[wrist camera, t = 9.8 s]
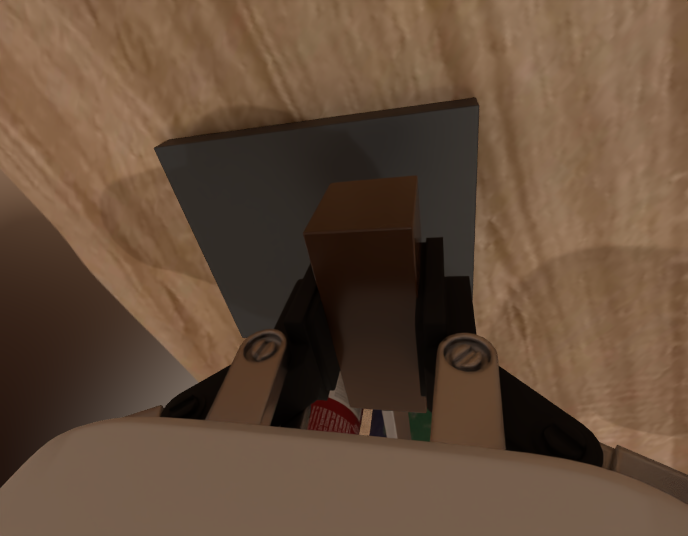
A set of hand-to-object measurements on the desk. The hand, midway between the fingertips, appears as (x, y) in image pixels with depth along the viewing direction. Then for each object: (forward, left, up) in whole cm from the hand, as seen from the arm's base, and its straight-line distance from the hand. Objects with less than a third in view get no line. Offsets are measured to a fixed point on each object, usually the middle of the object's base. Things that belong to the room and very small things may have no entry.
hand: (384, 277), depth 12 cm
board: (+5, +4, -9) cm, 11 cm away
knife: (0, +4, 0) cm, 4 cm away
